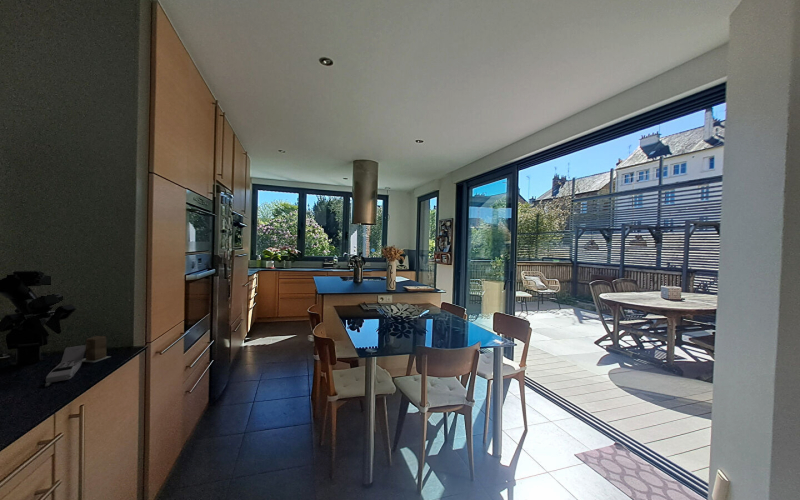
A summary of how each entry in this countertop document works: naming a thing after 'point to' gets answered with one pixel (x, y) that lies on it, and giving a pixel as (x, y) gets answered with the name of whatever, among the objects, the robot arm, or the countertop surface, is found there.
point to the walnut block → (95, 348)
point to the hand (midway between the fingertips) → (53, 334)
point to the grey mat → (95, 360)
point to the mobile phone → (67, 365)
